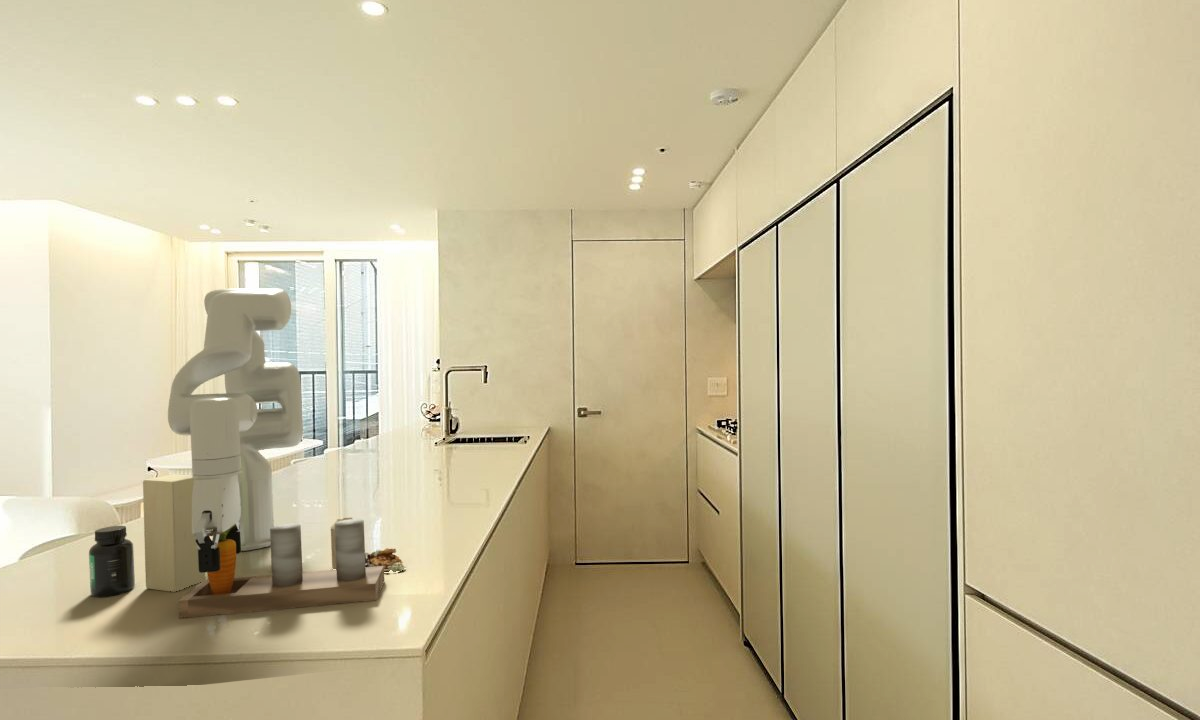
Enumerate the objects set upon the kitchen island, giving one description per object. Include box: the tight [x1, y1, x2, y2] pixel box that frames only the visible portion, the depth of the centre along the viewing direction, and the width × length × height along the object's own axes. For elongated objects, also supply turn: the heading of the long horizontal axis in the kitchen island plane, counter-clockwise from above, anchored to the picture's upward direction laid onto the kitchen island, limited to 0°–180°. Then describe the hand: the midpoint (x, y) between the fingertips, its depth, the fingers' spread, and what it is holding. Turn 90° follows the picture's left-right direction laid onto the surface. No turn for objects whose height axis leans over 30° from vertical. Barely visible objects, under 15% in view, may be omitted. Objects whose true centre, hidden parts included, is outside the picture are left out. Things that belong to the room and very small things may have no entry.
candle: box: [330, 517, 353, 570], centre depth 136 cm, size 6×6×10 cm
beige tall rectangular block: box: [142, 473, 206, 593], centre depth 129 cm, size 8×7×21 cm
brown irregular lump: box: [365, 547, 407, 572], centre depth 136 cm, size 7×12×4 cm, turn 53°
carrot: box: [206, 524, 237, 595], centre depth 118 cm, size 5×5×15 cm
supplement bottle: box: [88, 525, 136, 598], centre depth 126 cm, size 7×7×12 cm
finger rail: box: [177, 518, 385, 619], centre depth 119 cm, size 10×32×13 cm, turn 100°
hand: (220, 562), depth 118 cm, fingers open, 9 cm apart
